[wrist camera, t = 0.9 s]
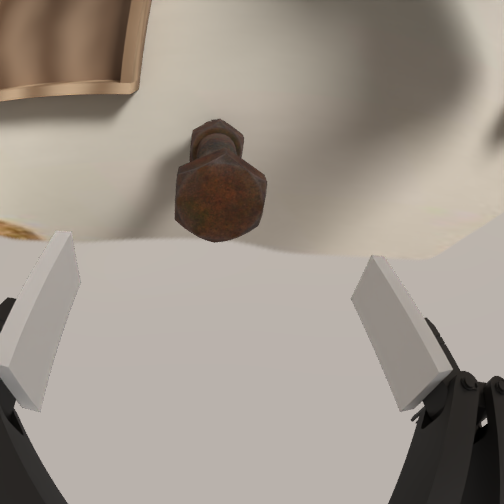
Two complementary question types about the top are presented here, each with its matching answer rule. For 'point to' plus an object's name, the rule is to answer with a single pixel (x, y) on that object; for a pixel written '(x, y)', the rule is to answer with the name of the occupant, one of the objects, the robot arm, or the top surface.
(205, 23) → the top surface
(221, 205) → the bolt
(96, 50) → the tray
